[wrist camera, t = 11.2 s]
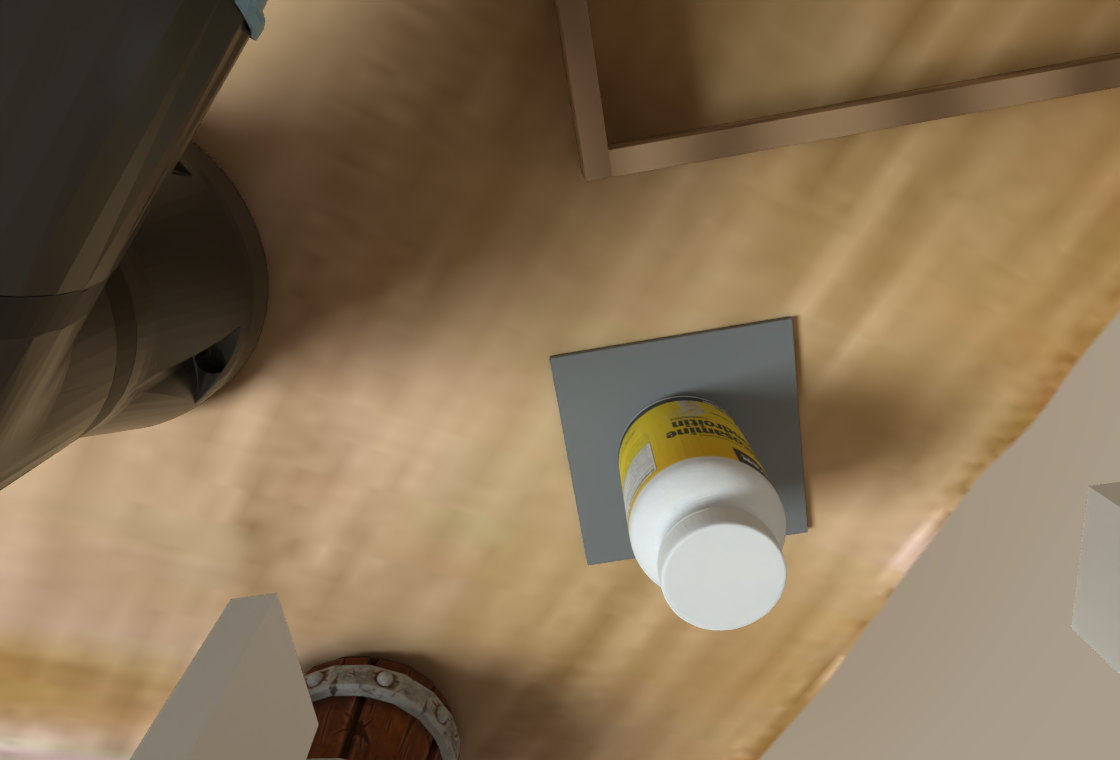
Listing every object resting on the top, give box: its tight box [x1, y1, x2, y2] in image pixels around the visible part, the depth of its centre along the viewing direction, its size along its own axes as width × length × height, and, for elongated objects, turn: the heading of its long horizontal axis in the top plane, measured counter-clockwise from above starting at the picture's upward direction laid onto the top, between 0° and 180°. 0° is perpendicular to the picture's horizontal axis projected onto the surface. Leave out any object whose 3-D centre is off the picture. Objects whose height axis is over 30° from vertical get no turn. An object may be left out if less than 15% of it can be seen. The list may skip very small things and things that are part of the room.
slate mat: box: [550, 317, 808, 565], centre depth 39 cm, size 12×12×1 cm
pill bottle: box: [618, 396, 787, 630], centre depth 33 cm, size 6×6×12 cm
